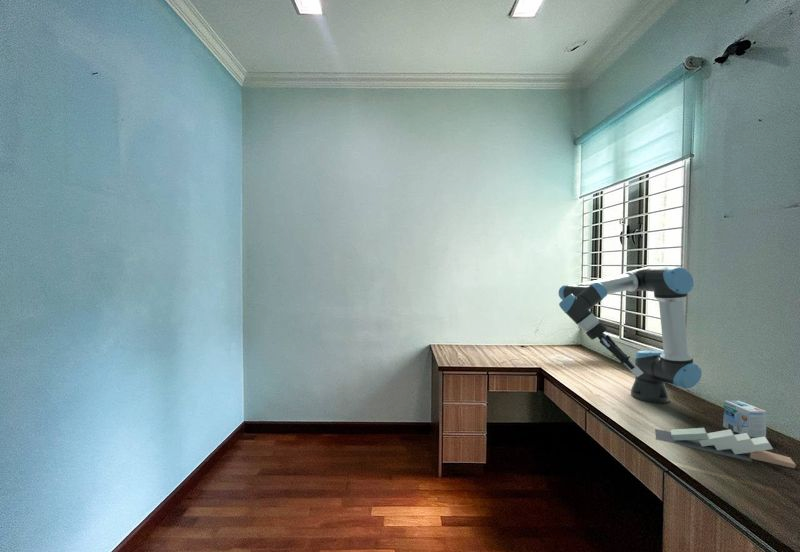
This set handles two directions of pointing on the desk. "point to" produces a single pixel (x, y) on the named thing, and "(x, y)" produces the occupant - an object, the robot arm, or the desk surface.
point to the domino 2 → (718, 438)
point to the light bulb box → (744, 419)
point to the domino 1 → (689, 434)
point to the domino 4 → (754, 446)
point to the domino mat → (698, 445)
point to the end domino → (772, 458)
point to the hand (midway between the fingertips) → (640, 374)
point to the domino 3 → (736, 442)
